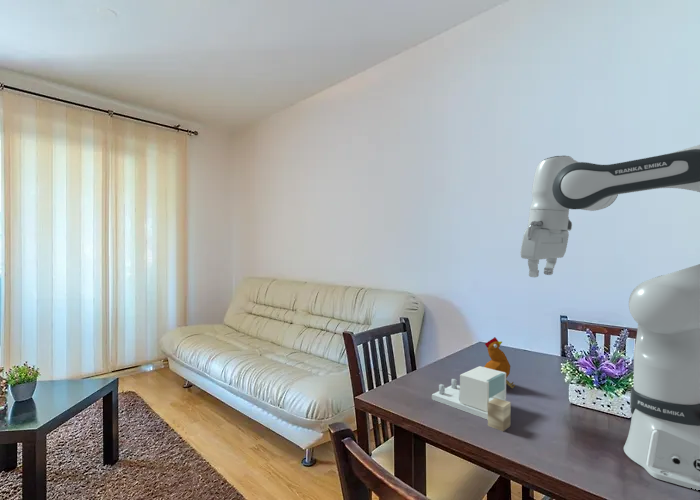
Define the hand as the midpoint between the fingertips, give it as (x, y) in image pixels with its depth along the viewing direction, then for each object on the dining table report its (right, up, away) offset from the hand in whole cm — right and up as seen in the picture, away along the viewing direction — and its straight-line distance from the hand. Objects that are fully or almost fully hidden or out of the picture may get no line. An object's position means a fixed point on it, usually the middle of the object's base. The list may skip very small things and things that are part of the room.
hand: (541, 275), depth 97 cm
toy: (-3, -38, +25) cm, 45 cm away
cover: (-12, -36, +9) cm, 39 cm away
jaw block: (-12, -38, -2) cm, 40 cm away
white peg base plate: (-14, -38, +12) cm, 42 cm away
